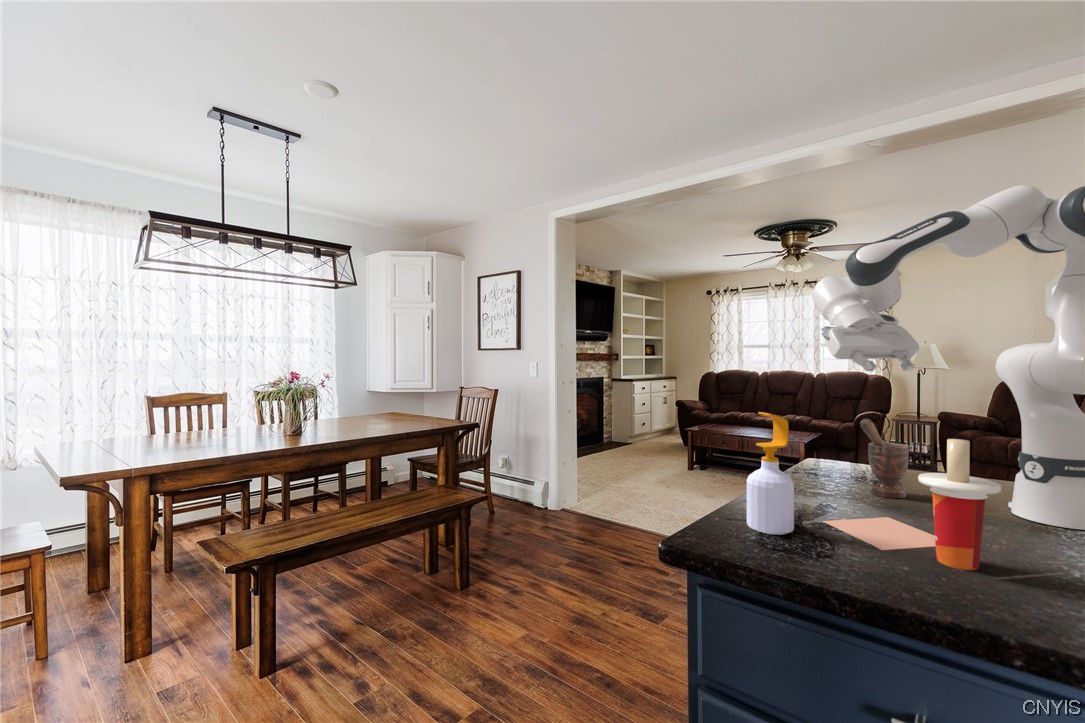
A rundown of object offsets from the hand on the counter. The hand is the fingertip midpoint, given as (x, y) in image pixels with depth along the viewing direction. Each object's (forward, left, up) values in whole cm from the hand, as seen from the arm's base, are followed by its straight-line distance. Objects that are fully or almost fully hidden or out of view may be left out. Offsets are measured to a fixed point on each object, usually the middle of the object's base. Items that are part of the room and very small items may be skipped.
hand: (890, 369), depth 109 cm
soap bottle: (+29, 0, -34) cm, 44 cm away
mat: (+8, +7, -33) cm, 35 cm away
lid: (+8, +22, -19) cm, 31 cm away
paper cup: (+8, +22, -34) cm, 41 cm away
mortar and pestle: (-14, -17, -34) cm, 40 cm away
